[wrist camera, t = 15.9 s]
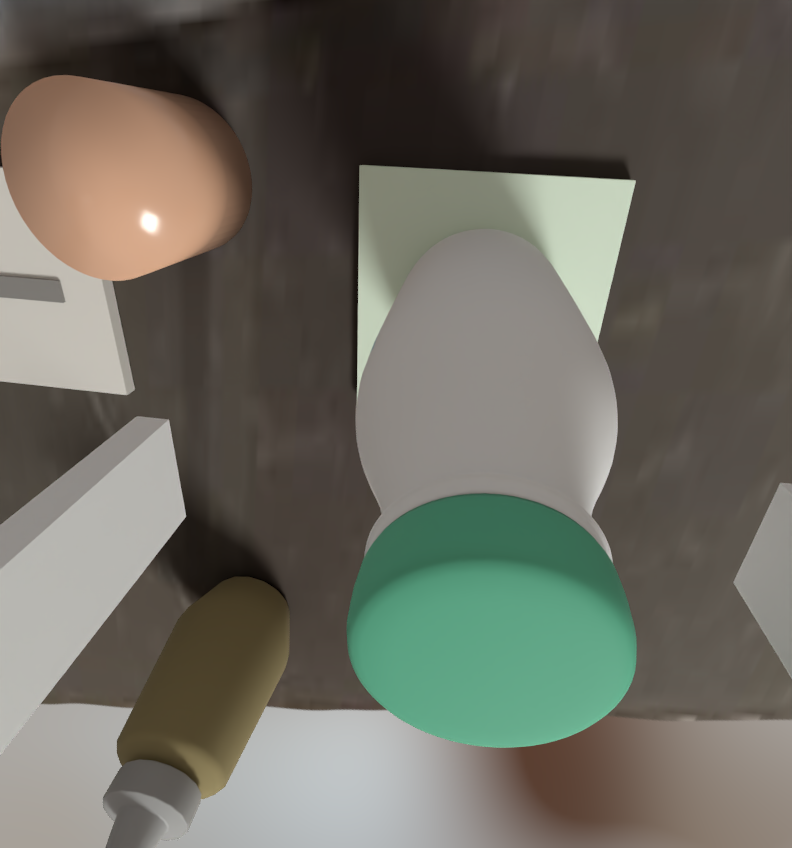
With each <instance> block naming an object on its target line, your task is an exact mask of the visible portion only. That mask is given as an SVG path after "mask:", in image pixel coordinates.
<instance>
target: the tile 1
mask: <svg viewBox="0 0 792 848" xmlns="http://www.w3.org/2000/svg"><path fill="white" fill-rule="evenodd" d="M0 381H3V382H12V383H22V384H31V385H40V386H49V387H58V388H67V389H76V390H85V391H95V392H104V393H113V394H122V395H128V394H129V393H131V392H132V391H134V390H135V387H134V383H133V378H132V373H131V368H130V364H129V359H128V354H127V349H126V345H125V340H124V335H123V330H122V326H121V321H120V316H119V311H118V307H117V302H116V297H115V292H114V288H113V283H112V281H110V280H103V279H98V278H95V277H91V276H88V275H86V274H83V273H81V272H79V271H77V270H75V269H73V268H71V267H69V266H68V265H66V264H65V263H63V262H62V261H61V260H59V259H58V258H56V257H55V256H54V255H53V254H52V253H51V252H49V251H48V250H47V249H46V248H45V247H44V246H43V245H42V244H41V243H40V242H39V241H38V239H37V238H36V237H35V236H34V234H33V233H32V232H31V231H30V229H29V228H28V226H27V225H26V224H25V222H24V221H23V219H22V217H21V216H20V214H19V212H18V210H17V208H16V206H15V204H14V202H13V200H12V197H11V195H10V192H9V189H8V186H7V183H6V180H5V176H4V171H3V167H0Z"/></svg>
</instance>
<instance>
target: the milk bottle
mask: <svg viewBox="0 0 792 848" xmlns="http://www.w3.org/2000/svg"><path fill="white" fill-rule="evenodd" d="M617 430H618V426H617V402H616V396H615V391H614V386H613V382H612V378H611V374H610V371H609V368H608V365H607V363H606V360H605V358H604V356H603V354H602V351H601V349H600V347H599V345H598V343H597V341H596V338H595V336H594V334H593V333H592V331H591V329H590V327H589V325H588V324H587V322H586V320H585V318H584V317H583V315H582V313H581V311H580V310H579V308H578V306H577V305H576V303H575V301H574V299H573V298H572V296H571V294H570V293H569V291H568V290H567V288H566V286H565V285H564V283H563V281H562V280H561V278H560V277H559V275H558V273H557V272H556V270H555V269H554V267H553V266H552V264H551V263H550V262H549V261H548V259H547V258H546V257H545V256H544V255H543V254H542V253H541V251H539V250H538V249H537V248H536V247H535V246H534V245H532V244H531V243H530V242H528V241H526V240H525V239H523V238H521V237H519V236H517V235H515V234H512V233H509V232H506V231H501V230H496V229H473V230H467V231H463V232H460V233H456V234H454V235H451V236H449V237H447V238H445V239H443V240H441V241H440V242H438V243H437V244H435V245H434V246H432V247H431V248H430V249H429V250H428V251H426V252H425V253H424V255H423V256H422V257H421V258H420V259H419V260H418V261H417V263H416V264H415V265H414V267H413V268H412V270H411V271H410V273H409V274H408V276H407V278H406V280H405V282H404V284H403V285H402V287H401V289H400V291H399V293H398V295H397V297H396V299H395V301H394V303H393V305H392V307H391V309H390V311H389V313H388V315H387V317H386V319H385V321H384V323H383V325H382V327H381V329H380V331H379V334H378V336H377V338H376V340H375V342H374V345H373V347H372V350H371V352H370V355H369V358H368V360H367V363H366V365H365V368H364V371H363V374H362V377H361V381H360V386H359V392H358V398H357V404H356V438H357V445H358V450H359V455H360V460H361V463H362V467H363V470H364V472H365V475H366V477H367V480H368V482H369V485H370V487H371V489H372V491H373V493H374V495H375V498H376V500H377V502H378V504H379V506H380V509H381V513H382V514H381V516H380V517H379V518H378V520H377V521H376V523H375V524H374V526H373V528H372V530H371V532H370V534H369V537H368V540H367V543H366V548H365V556H364V559H363V562H362V565H361V568H360V571H359V574H358V577H357V580H356V583H355V586H354V589H353V594H352V599H351V603H350V608H349V613H348V618H347V643H348V652H349V657H350V661H351V663H352V666H353V669H354V671H355V673H356V675H357V677H358V678H359V680H360V681H361V683H362V684H363V686H364V687H365V688H366V690H367V691H368V692H369V693H370V694H371V695H372V696H373V697H374V698H375V699H376V700H377V701H378V702H379V703H380V704H381V705H382V706H383V707H385V708H386V709H387V710H388V711H390V712H391V713H392V714H394V715H395V716H397V717H398V718H399V719H401V720H403V721H405V722H406V723H408V724H410V725H412V726H413V727H415V728H417V729H420V730H422V731H424V732H427V733H429V734H432V735H435V736H437V737H440V738H444V739H447V740H450V741H455V742H459V743H464V744H469V745H476V746H484V747H523V746H533V745H538V744H544V743H548V742H552V741H556V740H559V739H562V738H566V737H568V736H570V735H573V734H576V733H578V732H580V731H582V730H584V729H586V728H588V727H589V726H591V725H592V724H594V723H596V722H597V721H598V720H600V719H601V718H603V717H604V716H605V715H607V714H608V713H609V712H610V711H611V710H612V709H613V708H614V707H615V706H616V705H617V704H618V703H619V702H620V701H621V699H622V698H623V697H624V695H625V694H626V692H627V690H628V689H629V686H630V684H631V682H632V679H633V676H634V673H635V667H636V649H637V646H636V633H635V627H634V623H633V620H632V616H631V612H630V608H629V604H628V601H627V598H626V595H625V592H624V589H623V587H622V584H621V581H620V579H619V576H618V574H617V571H616V569H615V567H614V565H613V560H612V555H611V551H610V547H609V544H608V542H607V540H606V538H605V535H604V533H603V532H602V530H601V529H600V527H599V525H598V524H597V523H596V521H595V520H594V519H593V518H592V517H591V515H592V510H593V508H594V505H595V503H596V501H597V499H598V497H599V495H600V493H601V491H602V488H603V486H604V484H605V482H606V479H607V476H608V474H609V471H610V468H611V465H612V461H613V456H614V452H615V446H616V441H617Z"/></svg>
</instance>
